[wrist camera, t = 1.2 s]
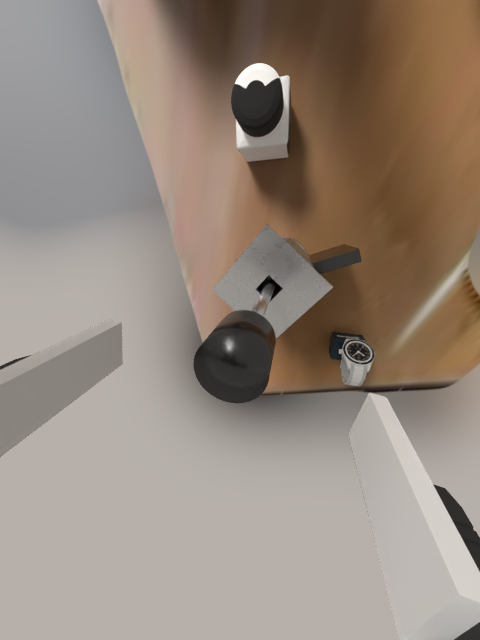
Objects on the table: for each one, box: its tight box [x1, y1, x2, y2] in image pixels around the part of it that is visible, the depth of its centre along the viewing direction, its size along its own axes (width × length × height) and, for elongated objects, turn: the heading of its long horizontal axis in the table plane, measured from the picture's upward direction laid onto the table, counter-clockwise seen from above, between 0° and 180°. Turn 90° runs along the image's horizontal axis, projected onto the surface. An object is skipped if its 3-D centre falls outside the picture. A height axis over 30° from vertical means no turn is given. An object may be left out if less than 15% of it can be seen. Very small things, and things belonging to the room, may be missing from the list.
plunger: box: [194, 275, 282, 403], centre depth 22 cm, size 9×9×23 cm
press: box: [212, 224, 361, 338], centre depth 35 cm, size 16×12×17 cm
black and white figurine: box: [231, 63, 291, 162], centre depth 32 cm, size 7×7×12 cm
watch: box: [329, 332, 375, 386], centre depth 41 cm, size 6×8×11 cm
